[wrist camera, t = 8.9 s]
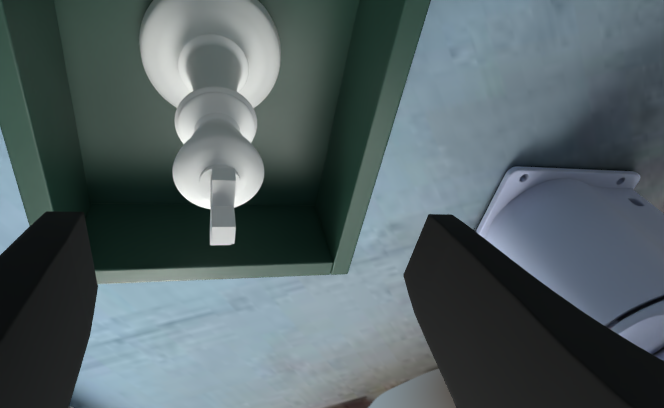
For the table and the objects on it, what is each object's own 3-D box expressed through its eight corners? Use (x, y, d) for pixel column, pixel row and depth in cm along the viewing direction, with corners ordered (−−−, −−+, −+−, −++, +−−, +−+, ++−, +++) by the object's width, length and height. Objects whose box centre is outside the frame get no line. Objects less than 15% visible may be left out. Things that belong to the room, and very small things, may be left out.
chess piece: (144, 108, 16) (94, 325, 9) (134, -36, 14) (49, 105, 6) (272, 117, 18) (323, 310, 10) (288, -10, 15) (376, 128, 7)
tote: (415, -181, 13) (490, -193, 10) (325, 209, 23) (347, 274, 19) (-34, -318, 10) (-160, -409, 6) (75, 208, 19) (46, 286, 16)
